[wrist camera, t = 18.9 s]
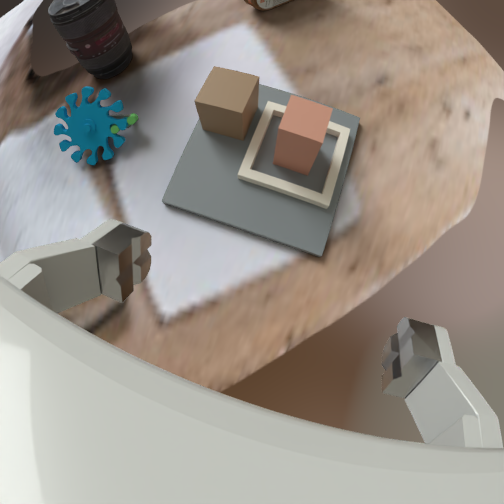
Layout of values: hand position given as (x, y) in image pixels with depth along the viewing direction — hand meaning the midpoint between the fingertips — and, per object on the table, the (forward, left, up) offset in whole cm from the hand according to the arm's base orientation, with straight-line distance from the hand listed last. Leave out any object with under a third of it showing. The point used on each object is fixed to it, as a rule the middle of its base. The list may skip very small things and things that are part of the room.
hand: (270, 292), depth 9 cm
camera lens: (-31, +24, -24) cm, 46 cm away
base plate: (-4, +15, -24) cm, 28 cm away
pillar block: (-1, +16, -23) cm, 27 cm away
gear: (-24, +11, -24) cm, 36 cm away
